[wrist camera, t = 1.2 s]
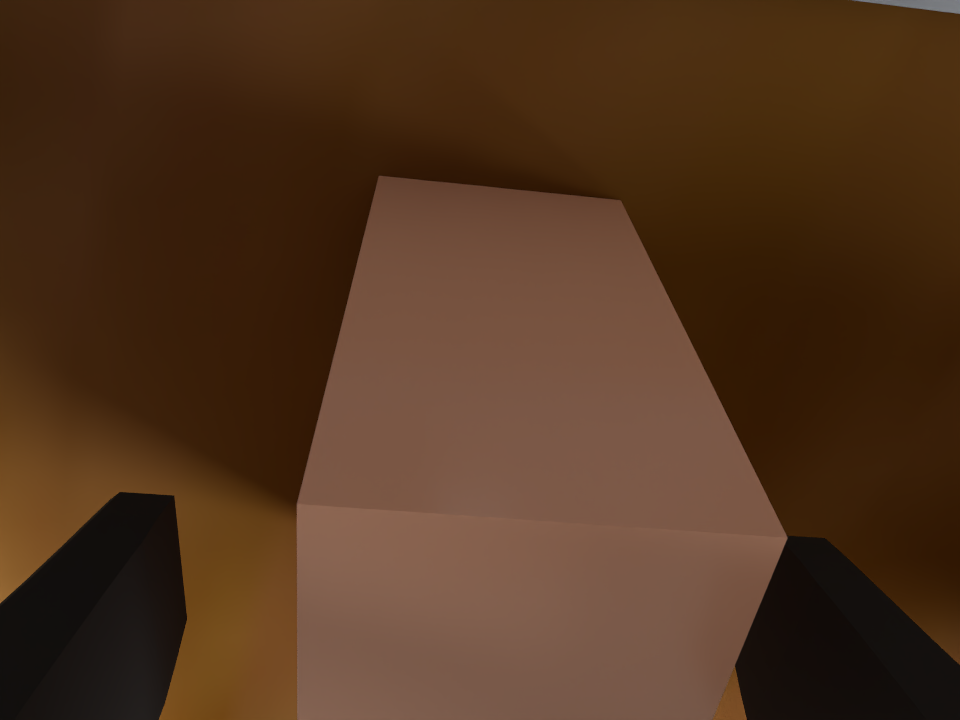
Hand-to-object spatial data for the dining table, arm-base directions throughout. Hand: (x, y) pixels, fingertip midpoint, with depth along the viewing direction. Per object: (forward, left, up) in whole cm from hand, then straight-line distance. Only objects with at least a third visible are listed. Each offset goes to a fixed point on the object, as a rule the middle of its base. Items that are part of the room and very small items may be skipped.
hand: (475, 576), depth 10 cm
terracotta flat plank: (0, 0, -4) cm, 4 cm away
